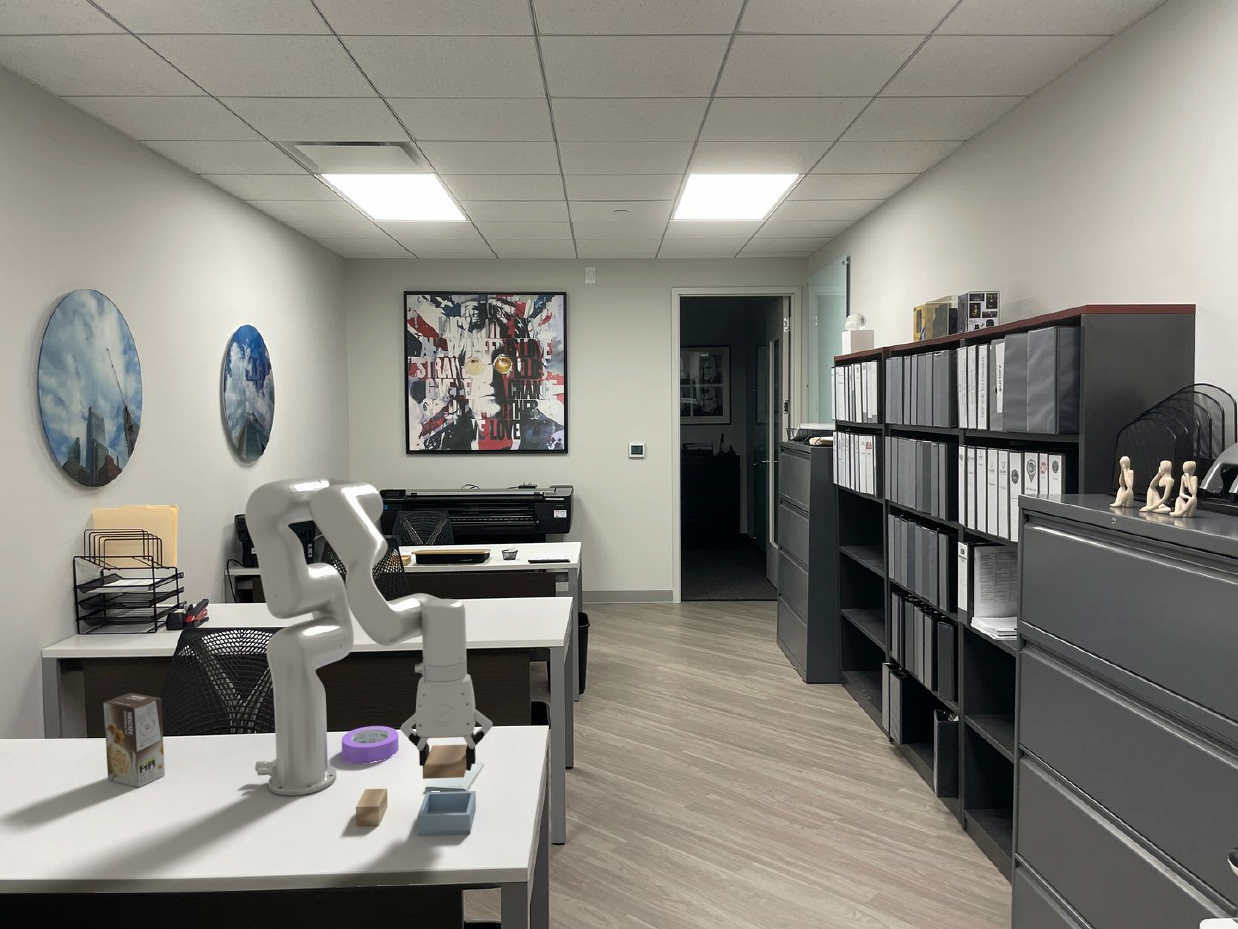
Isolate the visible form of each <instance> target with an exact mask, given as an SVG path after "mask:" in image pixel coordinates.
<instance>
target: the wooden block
mask: <svg viewBox="0 0 1238 929" xmlns="http://www.w3.org/2000/svg"><path fill="white" fill-rule="evenodd" d="M387 806H388V788H366V789H364V791H363V792H362V794H361V796H360V798H359V800H358V802H357V803H356V805H355V823H356V824H355V826H356V827H367V826H368V825H369V826H373V825H374V826H375V825H376V826H380V825H381V822H382V820H383V818H384V816H385V814H386V811H387V809H388V807H387ZM384 813H385V814H384ZM383 815H384V816H383ZM379 824H380V825H379ZM369 826H368V827H369Z"/></svg>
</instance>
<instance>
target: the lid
mask: <svg viewBox="0 0 1238 929" xmlns="http://www.w3.org/2000/svg"><path fill="white" fill-rule="evenodd" d="M466 748H467V743H466V744H441V745H439V744H435V745H432V746H431V749H429V753H430V754H429V756H428V759H427V761H426V763H425V765H424V767H423V766H422V780H425V779H426V780H427V779H428V780H429V779H431V780H432V778H462V777H464V775H465V772H466V769H467V763H466Z"/></svg>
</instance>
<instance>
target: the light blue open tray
mask: <svg viewBox="0 0 1238 929" xmlns="http://www.w3.org/2000/svg"><path fill="white" fill-rule="evenodd" d="M424 794H425V795H424V797H423V800H422V803H421V806H420V808H419V809H418V813H417V817H416V818H417V836H418V835H419V836H444V835H445V836H449V835H452V836H453V835H471V831H472V828H473V823H474V818H475V814H476V810H477V809H476V808H477V803H476V802H477V801H476V799H477V796H476V794H477V792H476V790H470V791H461V792H425V793H424Z"/></svg>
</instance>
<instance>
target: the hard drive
mask: <svg viewBox="0 0 1238 929" xmlns="http://www.w3.org/2000/svg"><path fill="white" fill-rule="evenodd" d="M483 767H485V763H484V762H482V761H475V764H472V767H471V771H467V770H466V772H465V775H464V777H462V778H432V779H431V780H430V781H429V782H428V783H427V785H426V786H425V788H424V792H425V791H440V792H461V791H469V790H470V789H471V787H472V786H473V784H474V783H475V781H476V780H477V778H478V777H477V776H479V775H480V774H481V772H482V771H483V769H484V768H483ZM482 768H483V769H482ZM481 770H482V771H481ZM479 773H480V774H479ZM475 779H476V780H475ZM471 785H472V786H471Z"/></svg>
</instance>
